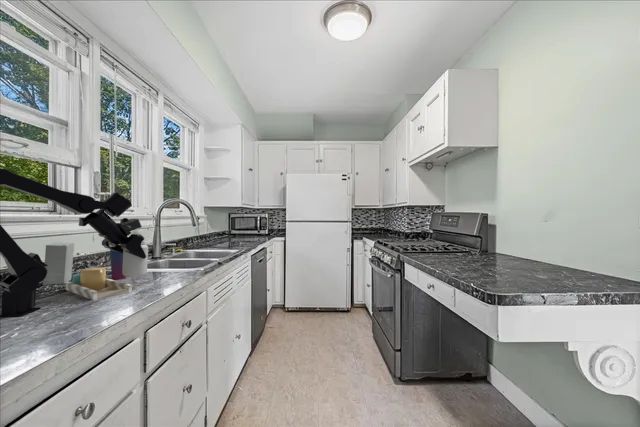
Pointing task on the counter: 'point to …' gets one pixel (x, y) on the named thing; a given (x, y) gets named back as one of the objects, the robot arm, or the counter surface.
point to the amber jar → (93, 278)
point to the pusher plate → (76, 279)
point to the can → (135, 263)
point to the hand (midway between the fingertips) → (139, 256)
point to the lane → (110, 290)
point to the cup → (116, 265)
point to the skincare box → (58, 263)
